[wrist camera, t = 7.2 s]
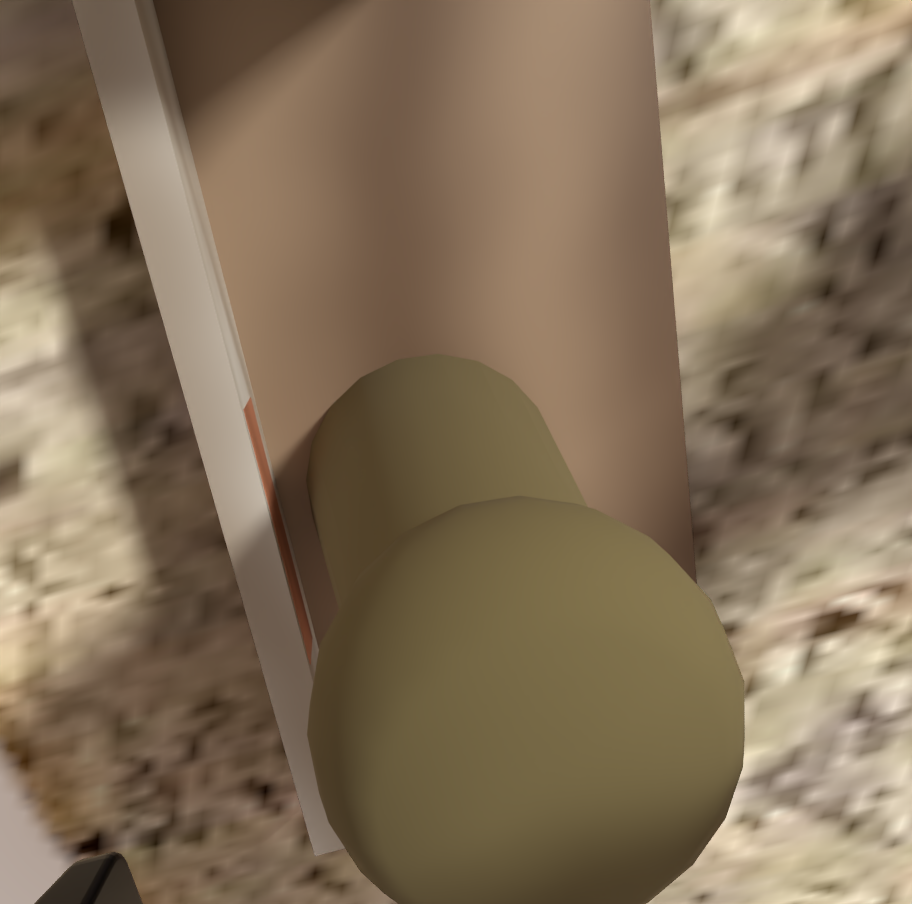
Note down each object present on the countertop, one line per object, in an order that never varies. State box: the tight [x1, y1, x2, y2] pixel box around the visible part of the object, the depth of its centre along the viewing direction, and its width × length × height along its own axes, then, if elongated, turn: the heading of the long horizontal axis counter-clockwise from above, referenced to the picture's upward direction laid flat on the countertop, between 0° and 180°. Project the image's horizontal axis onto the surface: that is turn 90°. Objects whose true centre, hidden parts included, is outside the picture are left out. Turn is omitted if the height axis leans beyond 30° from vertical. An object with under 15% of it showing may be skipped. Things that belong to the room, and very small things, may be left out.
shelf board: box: [72, 0, 697, 856], centre depth 16 cm, size 11×28×3 cm, turn 10°
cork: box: [306, 354, 744, 904], centre depth 13 cm, size 6×6×11 cm
